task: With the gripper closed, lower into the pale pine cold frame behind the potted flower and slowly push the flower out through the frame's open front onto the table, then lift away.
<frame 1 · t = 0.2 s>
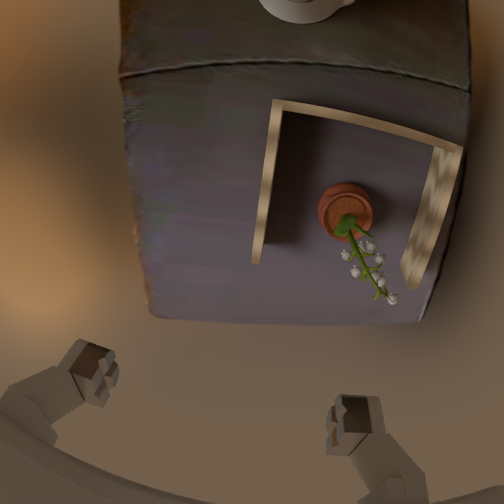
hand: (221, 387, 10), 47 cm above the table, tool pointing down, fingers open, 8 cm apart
potted flower: (346, 209, 55), on the table
cold frame: (351, 189, 53), on the table
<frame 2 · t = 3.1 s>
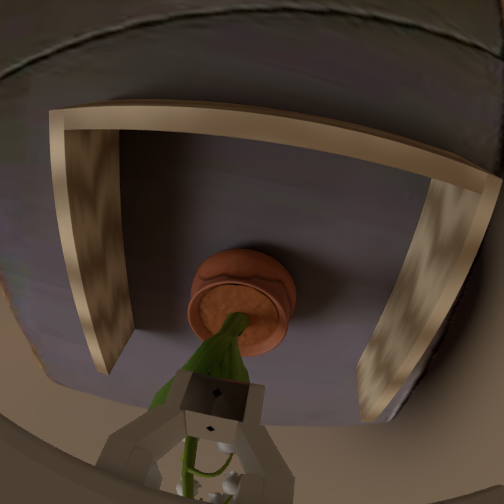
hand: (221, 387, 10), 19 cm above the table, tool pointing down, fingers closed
potted flower: (253, 289, 31), on the table
cold frame: (258, 257, 29), on the table
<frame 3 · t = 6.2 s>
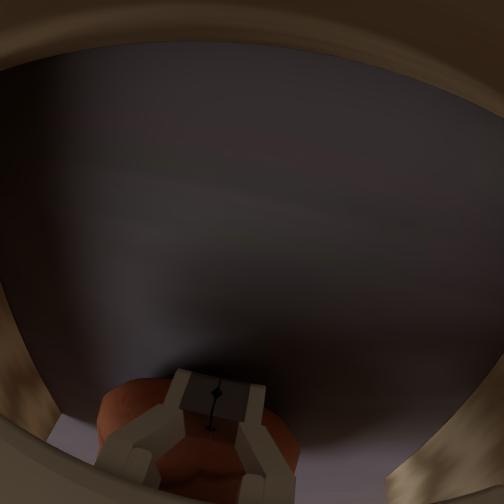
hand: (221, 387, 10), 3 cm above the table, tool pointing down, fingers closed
potted flower: (220, 415, 15), on the table, touching arm, gripper
cold frame: (228, 358, 13), on the table
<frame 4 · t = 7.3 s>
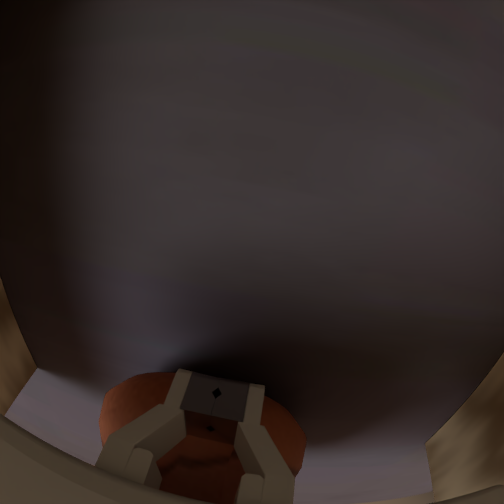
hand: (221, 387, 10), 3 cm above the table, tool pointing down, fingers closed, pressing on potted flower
potted flower: (225, 410, 15), on the table, touching arm, gripper
cold frame: (246, 223, 10), on the table
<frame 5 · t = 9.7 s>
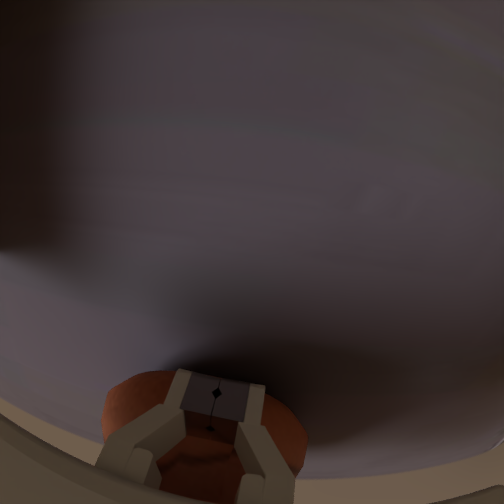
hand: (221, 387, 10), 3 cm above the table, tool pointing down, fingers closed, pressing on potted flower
potted flower: (227, 409, 15), on the table, touching arm, gripper
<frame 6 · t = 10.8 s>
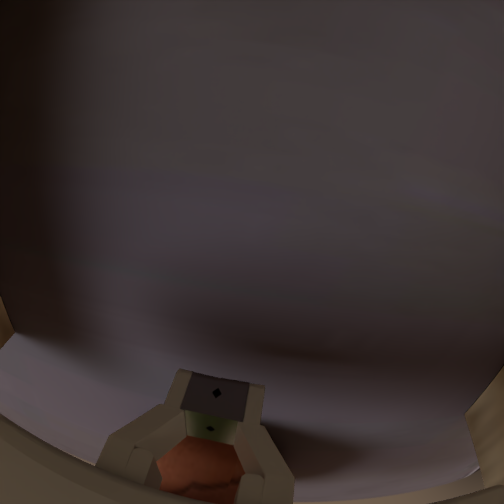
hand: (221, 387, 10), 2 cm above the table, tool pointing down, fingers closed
potted flower: (227, 452, 17), on the table
cold frame: (266, 87, 8), on the table
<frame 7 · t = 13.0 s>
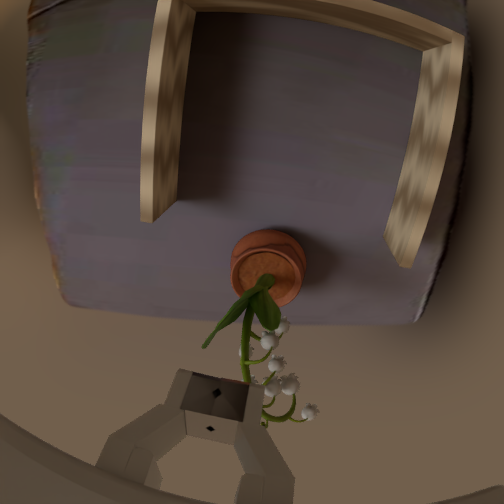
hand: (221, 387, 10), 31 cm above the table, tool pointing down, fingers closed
potted flower: (275, 260, 43), on the table
cold frame: (298, 112, 33), on the table
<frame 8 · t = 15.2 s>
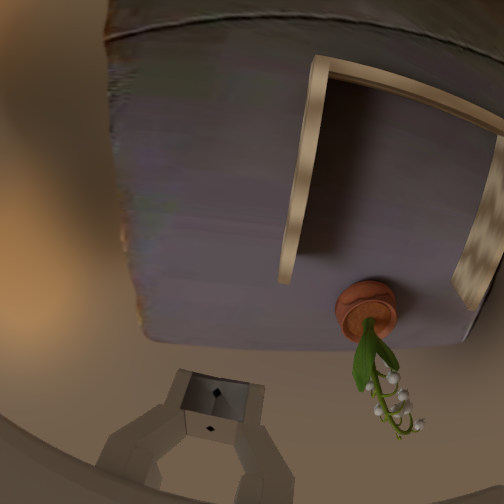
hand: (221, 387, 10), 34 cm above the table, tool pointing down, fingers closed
potted flower: (368, 302, 48), on the table
cold frame: (404, 185, 38), on the table
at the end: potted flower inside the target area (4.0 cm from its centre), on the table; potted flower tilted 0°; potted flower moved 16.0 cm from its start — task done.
